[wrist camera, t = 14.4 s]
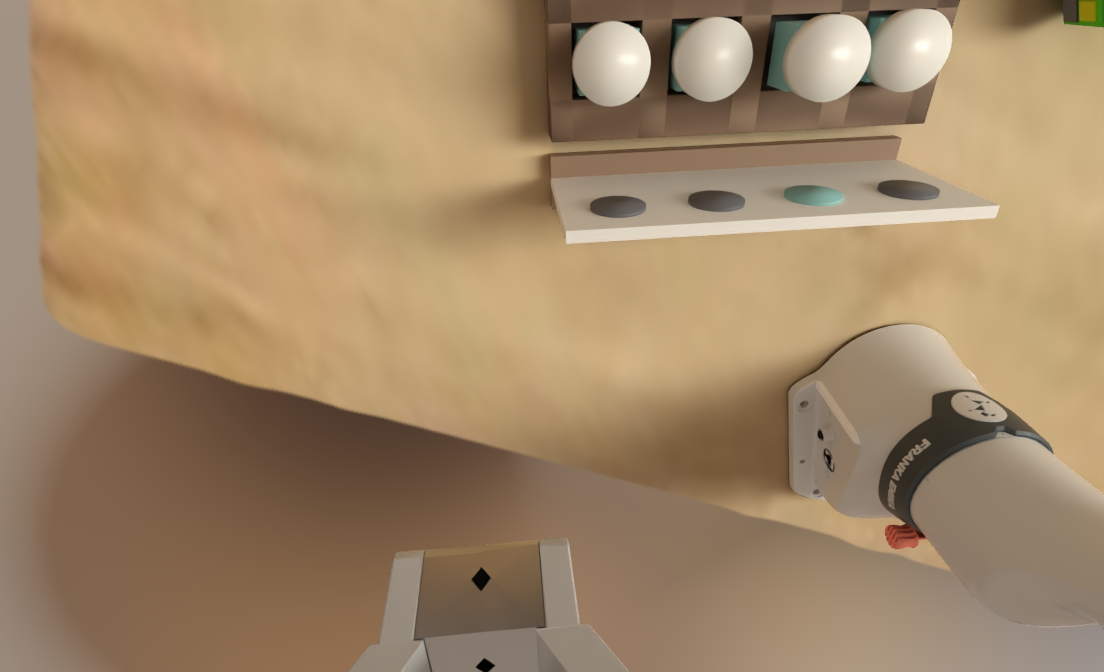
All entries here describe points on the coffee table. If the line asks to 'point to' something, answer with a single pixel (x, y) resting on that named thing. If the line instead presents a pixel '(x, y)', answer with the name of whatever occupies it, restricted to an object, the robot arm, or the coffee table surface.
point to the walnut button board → (750, 108)
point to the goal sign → (748, 190)
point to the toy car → (1084, 12)
